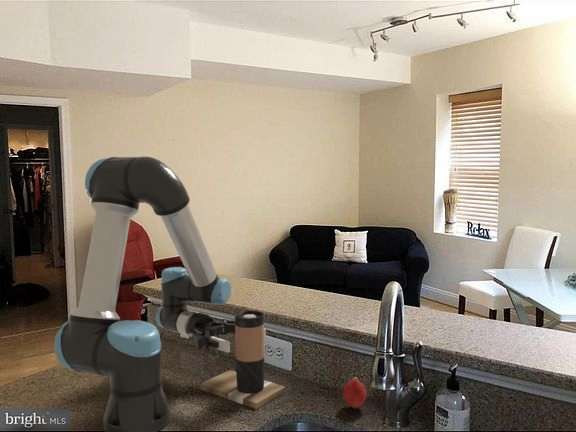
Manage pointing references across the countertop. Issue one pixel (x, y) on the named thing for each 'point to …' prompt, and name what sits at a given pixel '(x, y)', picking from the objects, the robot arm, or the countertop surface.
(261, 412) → the countertop surface
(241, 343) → the travel mug
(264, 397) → the wooden cutting board
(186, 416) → the countertop surface
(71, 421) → the countertop surface
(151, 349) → the robot arm
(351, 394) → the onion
